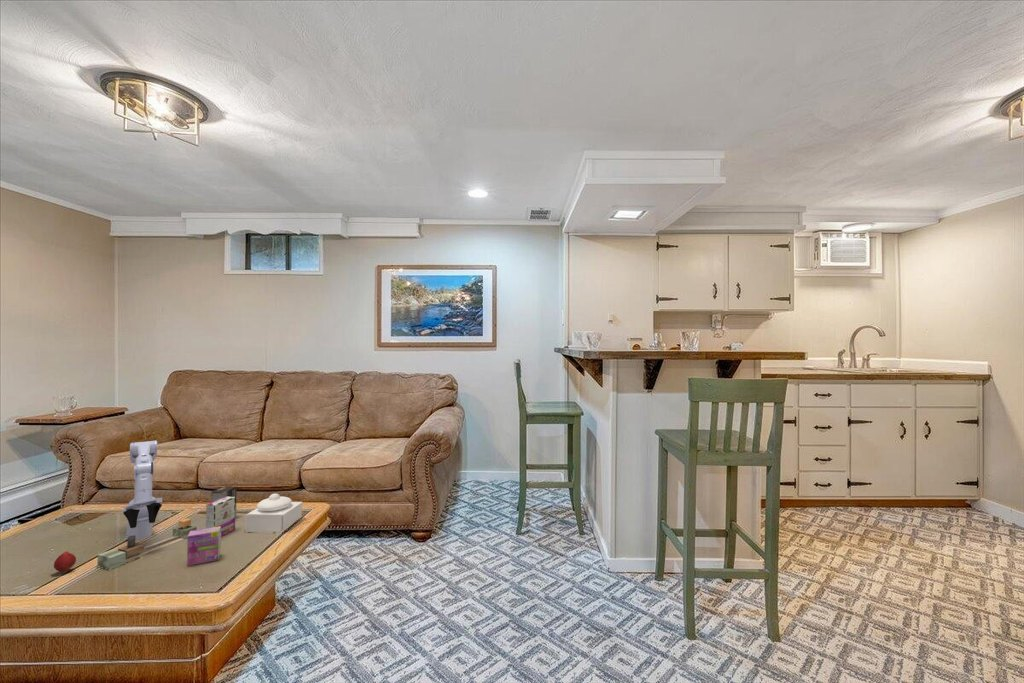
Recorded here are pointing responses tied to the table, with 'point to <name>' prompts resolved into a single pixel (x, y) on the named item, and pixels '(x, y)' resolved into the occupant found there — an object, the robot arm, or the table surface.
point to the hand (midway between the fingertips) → (142, 525)
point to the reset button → (184, 523)
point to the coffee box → (224, 494)
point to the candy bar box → (221, 515)
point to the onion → (64, 562)
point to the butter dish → (273, 514)
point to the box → (203, 545)
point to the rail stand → (119, 557)
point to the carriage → (132, 547)
